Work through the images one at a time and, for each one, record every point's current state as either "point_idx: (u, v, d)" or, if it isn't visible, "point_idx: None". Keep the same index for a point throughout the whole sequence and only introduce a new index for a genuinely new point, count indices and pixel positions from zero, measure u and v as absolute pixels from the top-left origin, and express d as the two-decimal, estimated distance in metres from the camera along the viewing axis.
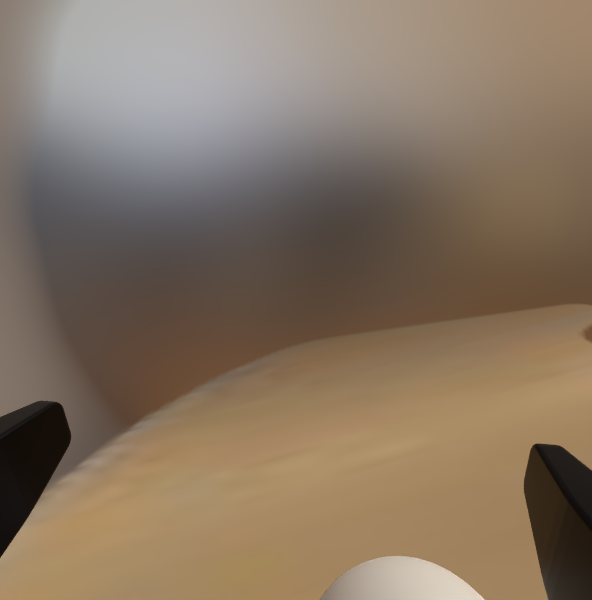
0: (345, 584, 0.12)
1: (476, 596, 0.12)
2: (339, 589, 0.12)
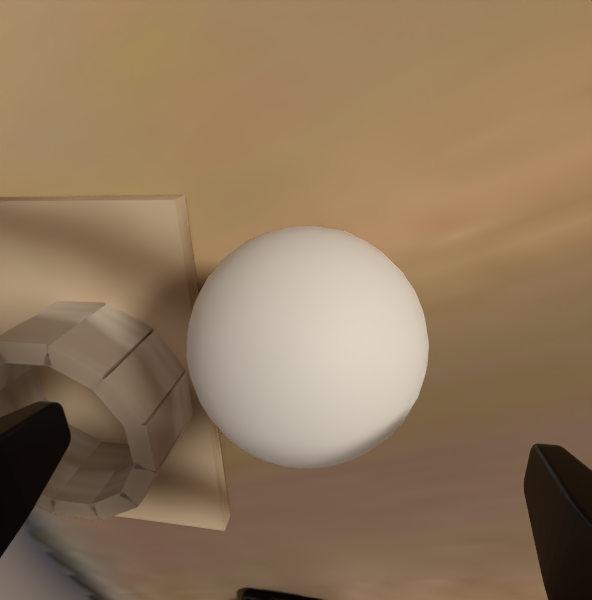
0: (206, 345, 0.09)
1: (369, 346, 0.09)
2: (201, 349, 0.10)
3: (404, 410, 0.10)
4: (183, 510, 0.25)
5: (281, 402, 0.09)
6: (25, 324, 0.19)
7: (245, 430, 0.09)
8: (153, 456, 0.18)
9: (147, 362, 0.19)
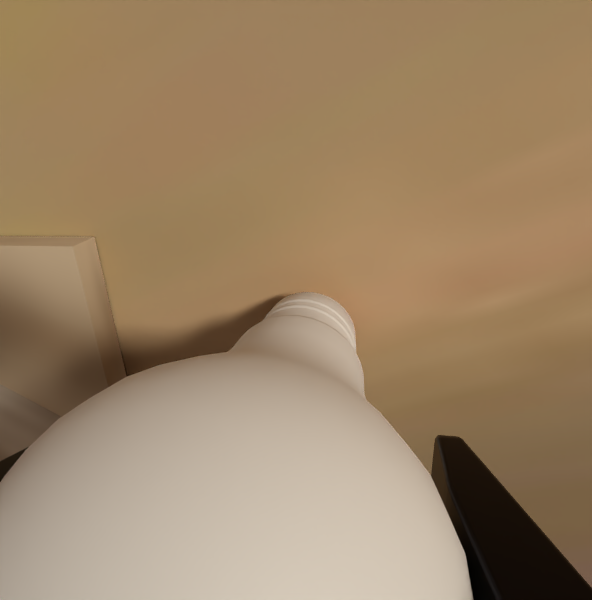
0: None
1: None
2: None
3: None
4: None
5: None
6: None
7: None
8: None
9: None
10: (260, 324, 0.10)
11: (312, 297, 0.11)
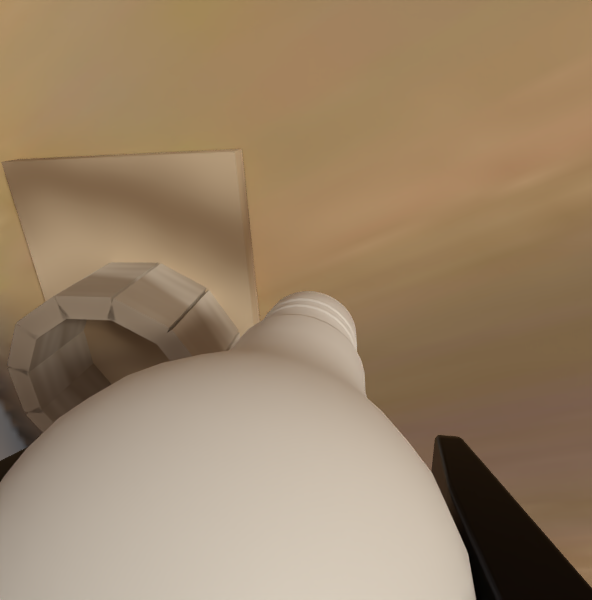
0: None
1: None
2: None
3: None
4: None
5: None
6: (84, 282, 0.19)
7: None
8: None
9: (205, 319, 0.19)
10: (261, 323, 0.10)
11: (313, 296, 0.11)
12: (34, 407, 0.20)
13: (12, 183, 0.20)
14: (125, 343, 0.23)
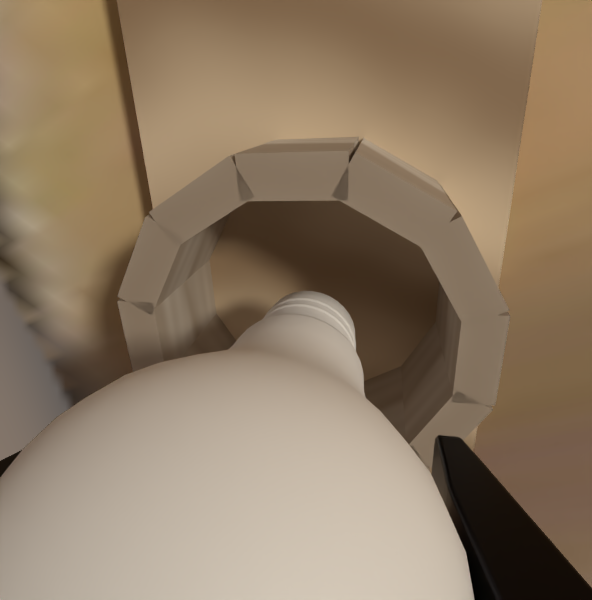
0: None
1: None
2: None
3: None
4: None
5: None
6: (264, 146, 0.11)
7: None
8: (498, 377, 0.10)
9: None
10: (260, 323, 0.10)
11: (312, 295, 0.11)
12: None
13: None
14: (274, 279, 0.15)
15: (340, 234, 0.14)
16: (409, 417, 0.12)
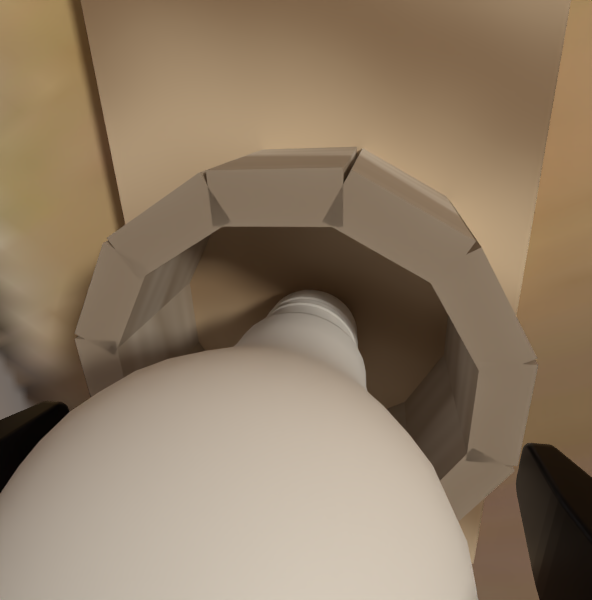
0: None
1: None
2: None
3: None
4: None
5: None
6: (244, 160, 0.09)
7: None
8: (522, 434, 0.09)
9: None
10: (264, 321, 0.10)
11: (314, 294, 0.11)
12: None
13: None
14: (262, 305, 0.13)
15: (336, 256, 0.12)
16: None
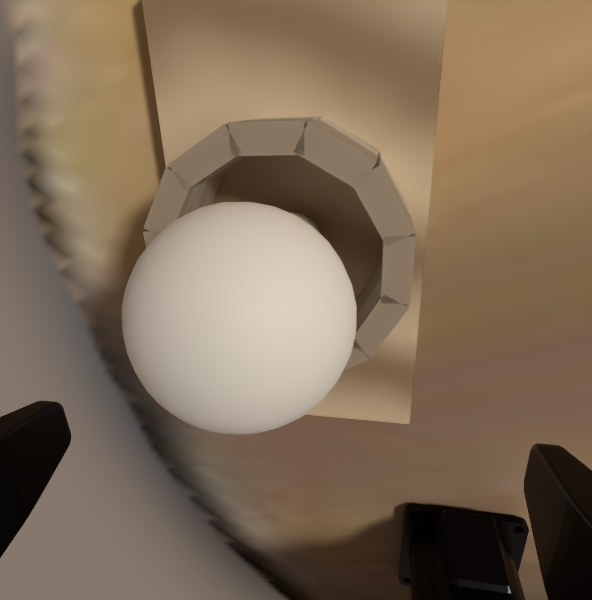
0: (133, 312, 0.10)
1: (284, 312, 0.09)
2: (129, 316, 0.10)
3: (326, 377, 0.10)
4: (362, 400, 0.22)
5: (199, 365, 0.09)
6: (249, 120, 0.15)
7: (169, 394, 0.10)
8: (411, 283, 0.15)
9: (390, 177, 0.16)
10: None
11: (293, 213, 0.18)
12: None
13: (148, 12, 0.17)
14: None
15: (308, 191, 0.18)
16: None
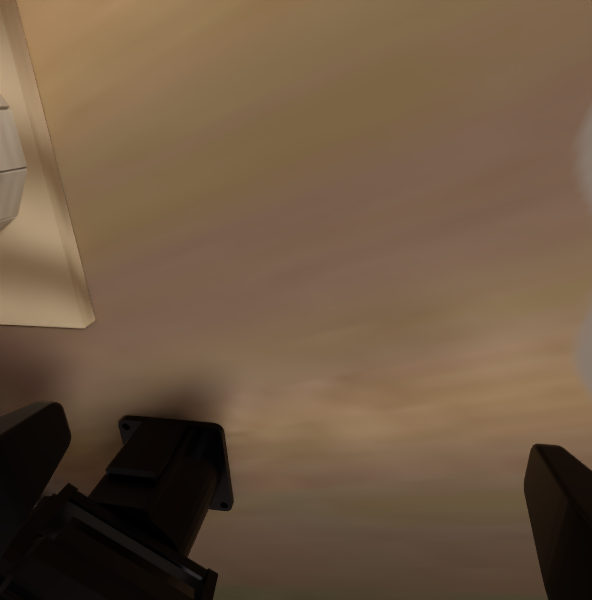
0: None
1: None
2: None
3: None
4: (39, 306, 0.23)
5: None
6: None
7: None
8: None
9: None
10: None
11: None
12: None
13: None
14: None
15: None
16: None
